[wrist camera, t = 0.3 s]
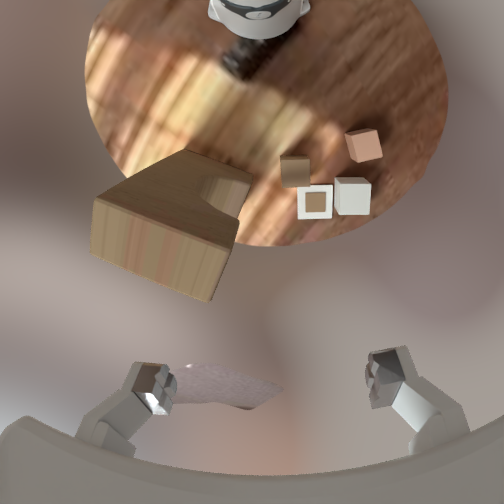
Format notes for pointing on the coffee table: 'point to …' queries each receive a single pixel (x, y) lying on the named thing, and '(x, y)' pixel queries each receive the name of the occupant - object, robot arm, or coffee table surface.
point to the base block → (352, 195)
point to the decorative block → (172, 222)
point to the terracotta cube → (363, 144)
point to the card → (315, 201)
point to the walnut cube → (295, 171)
